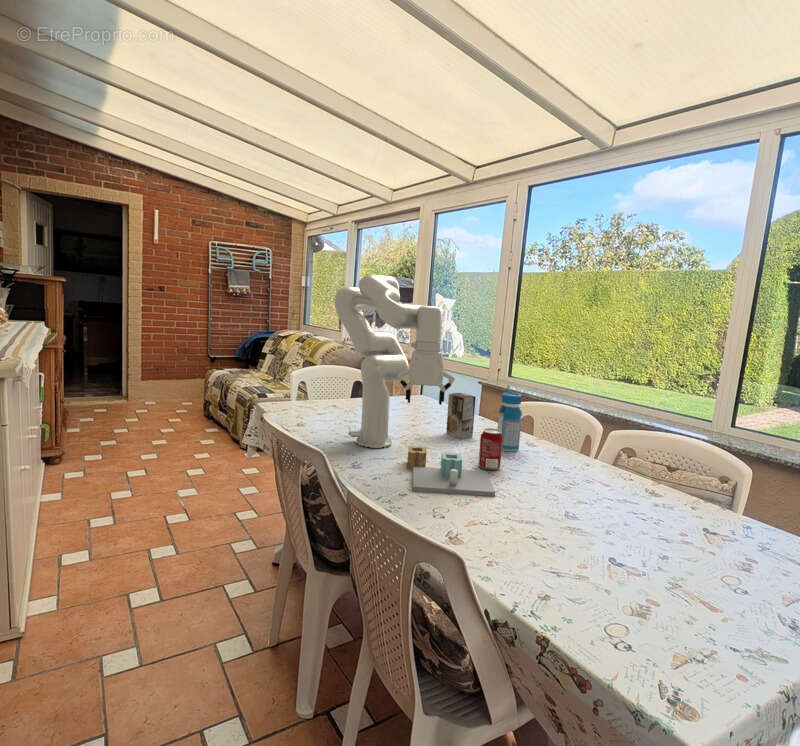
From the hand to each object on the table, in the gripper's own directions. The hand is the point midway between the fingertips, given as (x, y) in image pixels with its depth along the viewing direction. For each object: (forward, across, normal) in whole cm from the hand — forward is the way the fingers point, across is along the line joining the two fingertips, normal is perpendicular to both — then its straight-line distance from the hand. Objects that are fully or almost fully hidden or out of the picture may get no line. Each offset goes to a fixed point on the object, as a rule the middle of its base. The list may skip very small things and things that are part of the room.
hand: (424, 403), depth 144 cm
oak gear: (+20, -1, 0) cm, 20 cm away
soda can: (+20, +22, +3) cm, 30 cm away
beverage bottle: (+20, +31, +25) cm, 45 cm away
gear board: (+20, +9, -13) cm, 25 cm away
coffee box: (+20, +15, +38) cm, 46 cm away
